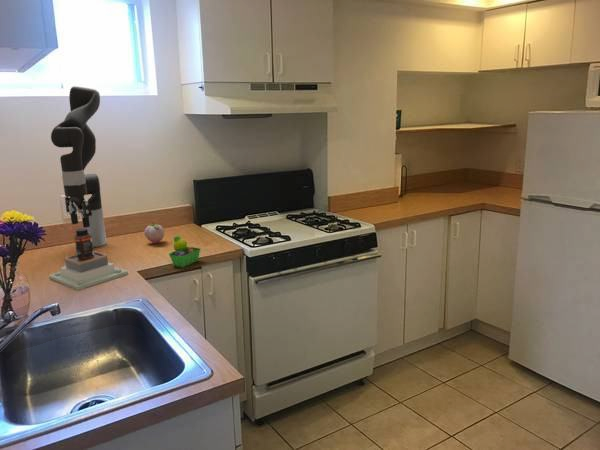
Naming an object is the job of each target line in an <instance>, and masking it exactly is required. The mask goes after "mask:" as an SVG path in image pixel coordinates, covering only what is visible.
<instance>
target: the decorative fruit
mask: <svg viewBox="0 0 600 450" xmlns="http://www.w3.org/2000/svg"><path fill="white" fill-rule="evenodd" d="M165 234H166V233H165V229H164V228H163V226H162V225H160V224H155V223H154V222H152V224H151V223H150V224H148V225H147V227H145V229H144V236H145V238H146V239H147V240H148V241H149V242H151V243H153V244H158V243H159V242H161V241H162V240H163V238H164V236H165Z"/></svg>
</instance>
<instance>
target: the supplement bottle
mask: <svg viewBox="0 0 600 450" xmlns="http://www.w3.org/2000/svg"><path fill="white" fill-rule="evenodd" d="M75 233H76V234H75V236H74V237H73V238H74V245H75V251H76V254H77V257H78V259H79V260H87V259H91V258H93V257H94V251H95V250H94V247H93V244H92V237H91V235H90V234H89V233H88V230H87V228H83V227H82V228H78V229H76V230H75Z"/></svg>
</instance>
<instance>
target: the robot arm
mask: <svg viewBox="0 0 600 450" xmlns="http://www.w3.org/2000/svg"><path fill="white" fill-rule="evenodd" d="M68 95H69V100H68V101H69V107H70V109H69V110H70V111H69V112H68V113H67V115H66V116H65V119H64V120H63V121H61V122H60V123H59V124H57V125H56V126H54V128H53V129H52V131H51V133H50V139H51V143H52V144H53V145H54V146H55V147H57V148H61V149H62V148H72V150H71V152H70V153H65V154H62V155H61V156H60V159H59V161H60V166H61V172H62V173H61V174H62V176H61V178H62V184H63V185H62V186H63V191H64V196H65V197H64V204H65V210H66V213H68V214H69V215H70V222H71V224H72V225H77V224H79V219H78V214H80V215H81V222H82V228H87V230H88V233H89V234H90V235H91V237H92V244H93V248H94V247H95V248H96V247H102V246H105V245H107V244H108V241H107V236H106V235H107V234H106V227H105V226H106V225H105V220H104V213H103V212H104V211H103V205H102V198H101V196H102V194H101V185H100V179H99V176H98V175H97V174H96V173H87V174H86V173H85V172H84V171H85V169H86V167H87V166H88V164H89V163H90V162H91V161H92V160H93V158H94V156H95V154H96V149H97V147H96V146H97V145H96V142H97V141H96V140H97V139H96V137H95V136H96V135H95V134H94V132H93V131H92V129H91V128H90V126H88V124H87V122H88V121H90V119H91V118H92V117H93V116H94V115H95V113H97V111H98V110H99V108H100V104H101V94H100V92H99V91H98V90H97V89H94V88H90V87H89V88H88V87H84V86H83V87H82V86H78V85H77V86H75V85H74V86H72V87H71V88H70V90H69V94H68ZM87 195H91V196H90V197H89V198H88V199H85V196H87ZM77 213H78V214H77Z"/></svg>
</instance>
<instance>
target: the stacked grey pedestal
mask: <svg viewBox="0 0 600 450" xmlns="http://www.w3.org/2000/svg"><path fill="white" fill-rule="evenodd" d="M108 258H109V257H108V255H107V254H105V253H102V252H99V251H96V250H94V257H93V258H91V259H87V260H79V259H78V257H77V253H76V254H73V255H70V256H66V257H64V262H65V265H64V266H62V267H60V271H56V272H54V273H52V274H49V275H48V277H49V279H50V280H53V281H55V282H57V283H60V284H62V285H64V286H67V287H69V288H72V289H74V290H77V291H81V290H84V289H87V288H89V287H92V286H96V285H99V284H101V283H105V282H108V281H112V280H114V279H117V278H120V277H123V276H127V275H129V271H128V270H126V269H123V268H119V267H116V266H115V263H113V262H109V259H108Z"/></svg>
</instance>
